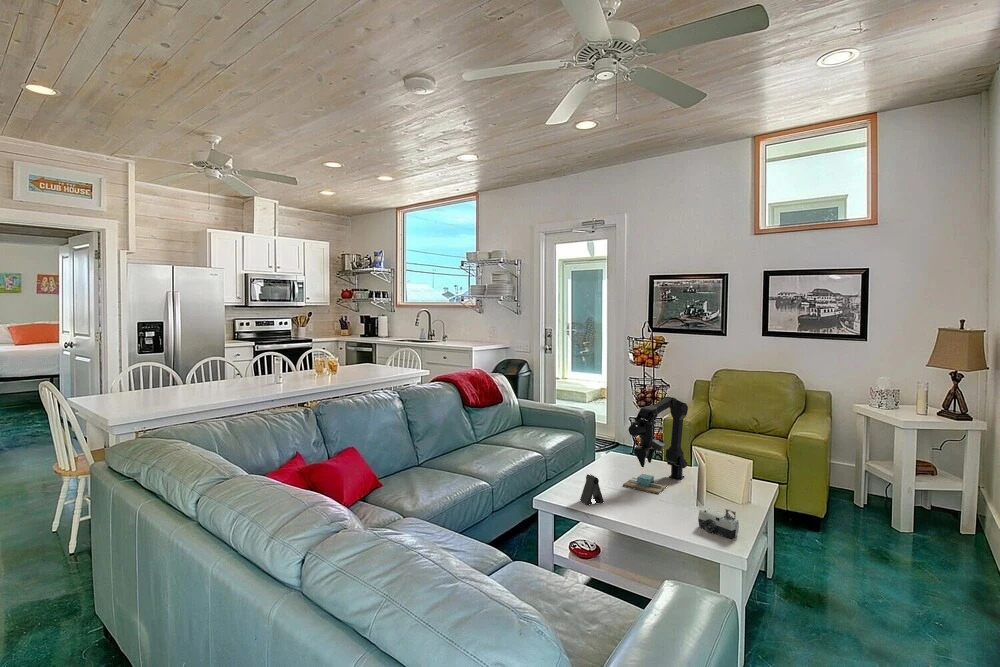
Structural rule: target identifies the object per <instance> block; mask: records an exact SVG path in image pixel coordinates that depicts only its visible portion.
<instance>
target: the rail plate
mask: <svg viewBox="0 0 1000 667" xmlns="http://www.w3.org/2000/svg"><path fill="white" fill-rule="evenodd" d="M624 486H626V487H625V488H628V487H630V488H629V489H633V488H635V489H634V490H637V489H639V490H638V491H641V490H644V491H643V492H646V491H648V492H647V493H650V492H653V493H652V494H655V493H657V494H656V495H660V494H661V493H662V492H664V491H665V490H666V489H667V488H668V487H669V484H665V483H661V482H656V481H654V483H650V487H649V488H648V487H644V486H639V485H637V477H631V478H629V479H628V480H627V481H626V482H624V483H623V484H622V487H624ZM667 486H668V487H667ZM666 487H667V488H666ZM665 488H666V489H665ZM664 489H665V490H664ZM660 492H661V493H660ZM659 493H660V494H659Z"/></svg>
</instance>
